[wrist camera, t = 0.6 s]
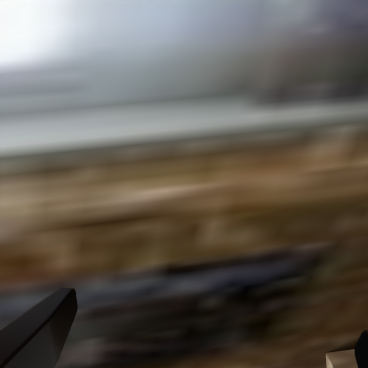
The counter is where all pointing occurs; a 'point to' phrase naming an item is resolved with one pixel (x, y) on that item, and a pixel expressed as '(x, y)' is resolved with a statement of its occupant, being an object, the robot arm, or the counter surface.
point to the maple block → (341, 359)
